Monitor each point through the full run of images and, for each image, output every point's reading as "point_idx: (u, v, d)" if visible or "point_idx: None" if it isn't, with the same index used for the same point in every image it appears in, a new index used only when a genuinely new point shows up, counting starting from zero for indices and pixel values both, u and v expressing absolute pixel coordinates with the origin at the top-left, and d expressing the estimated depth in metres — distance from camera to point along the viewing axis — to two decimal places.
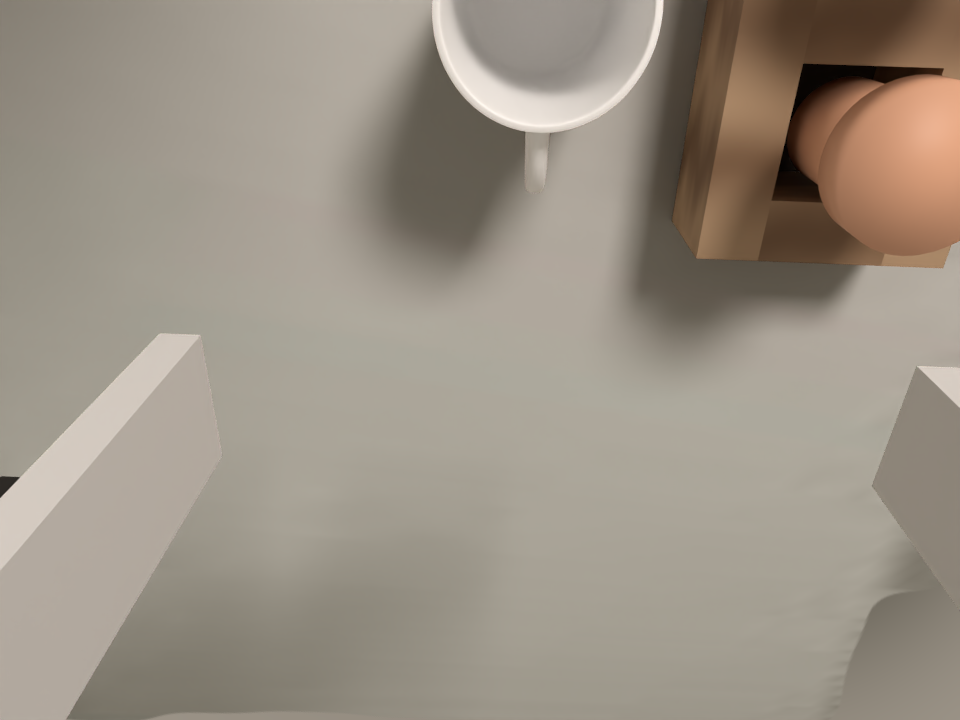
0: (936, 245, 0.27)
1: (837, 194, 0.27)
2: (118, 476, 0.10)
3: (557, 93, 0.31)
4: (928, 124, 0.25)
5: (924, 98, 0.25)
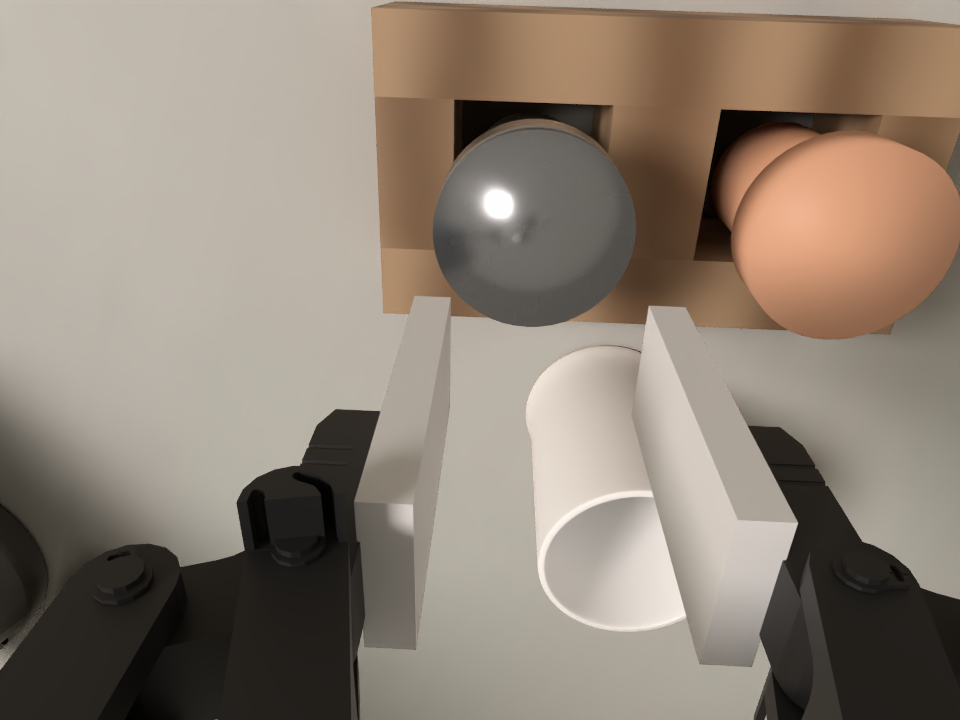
0: (954, 215, 0.22)
1: (853, 335, 0.24)
2: (435, 409, 0.12)
3: None
4: (792, 263, 0.22)
5: (762, 274, 0.23)
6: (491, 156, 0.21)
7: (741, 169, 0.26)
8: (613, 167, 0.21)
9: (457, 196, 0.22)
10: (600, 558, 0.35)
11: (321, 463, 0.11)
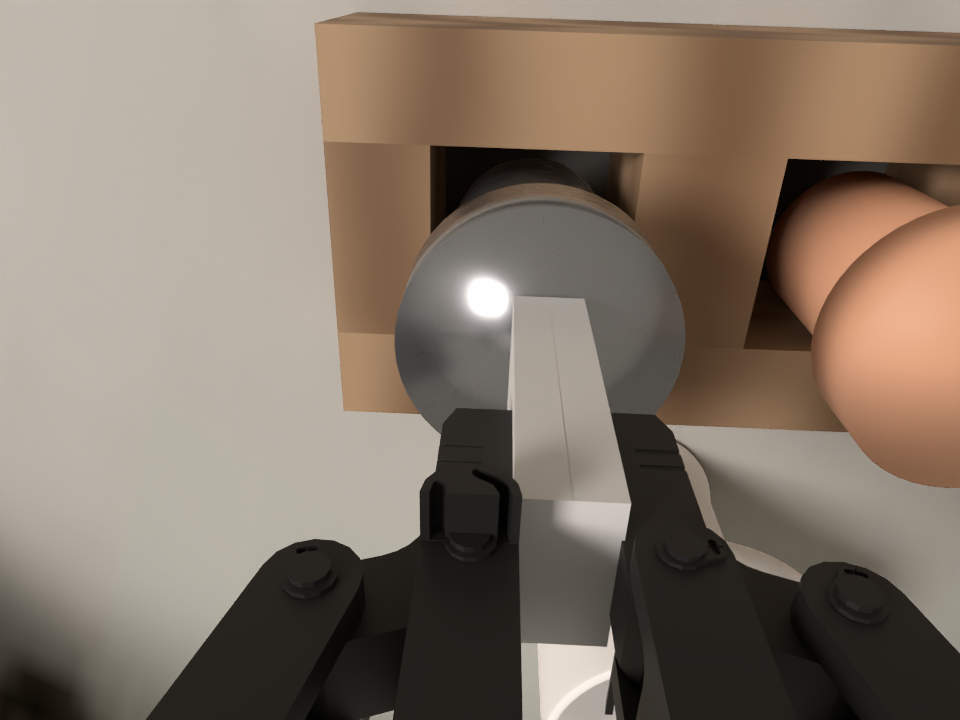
0: None
1: None
2: None
3: None
4: (908, 391, 0.16)
5: (863, 405, 0.16)
6: (477, 244, 0.15)
7: (815, 239, 0.20)
8: (655, 259, 0.15)
9: (429, 298, 0.15)
10: None
11: (456, 461, 0.11)
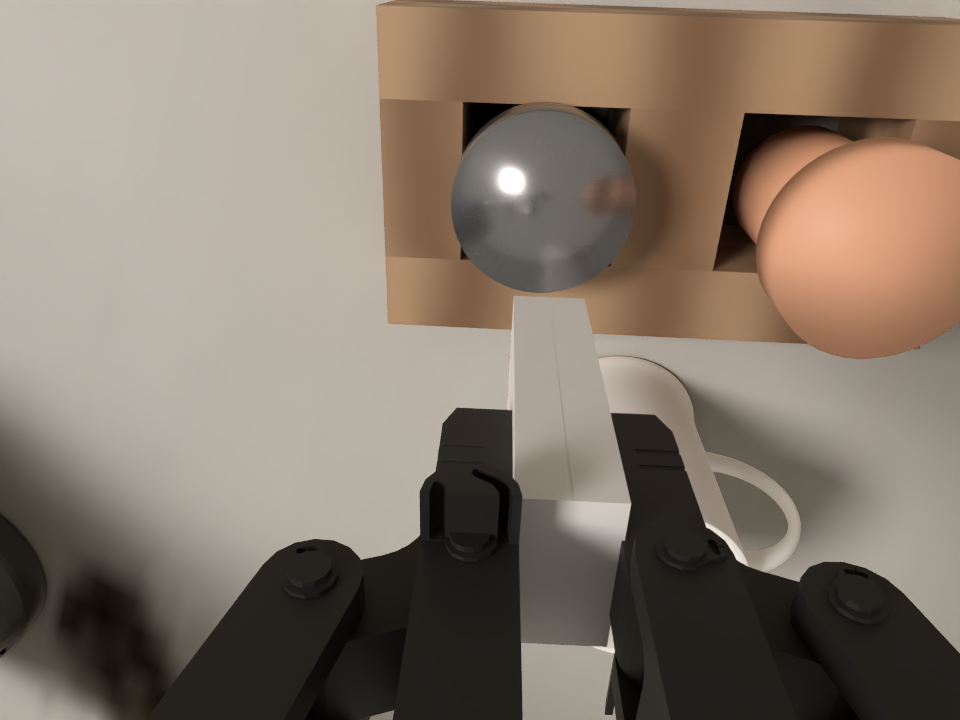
0: None
1: (885, 354, 0.22)
2: None
3: None
4: (822, 278, 0.21)
5: (789, 290, 0.21)
6: (504, 134, 0.23)
7: (766, 176, 0.25)
8: (615, 145, 0.23)
9: (473, 171, 0.24)
10: None
11: (456, 460, 0.11)
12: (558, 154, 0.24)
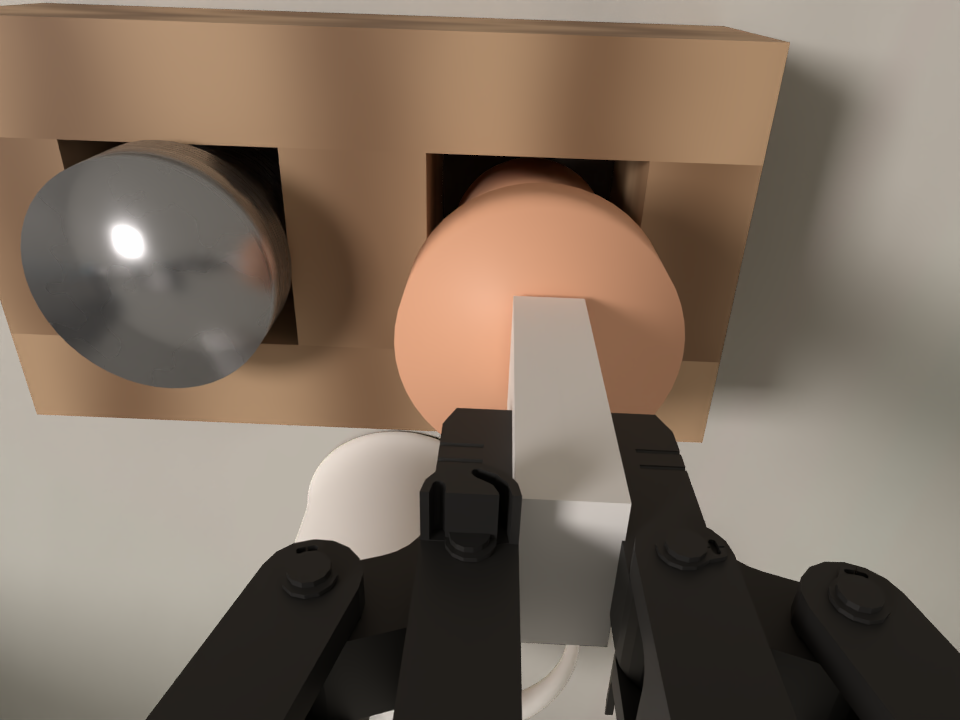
0: (669, 306, 0.15)
1: None
2: None
3: None
4: (459, 369, 0.16)
5: (421, 384, 0.16)
6: (70, 187, 0.17)
7: None
8: (221, 201, 0.17)
9: (43, 235, 0.18)
10: None
11: (456, 460, 0.11)
12: (148, 213, 0.17)
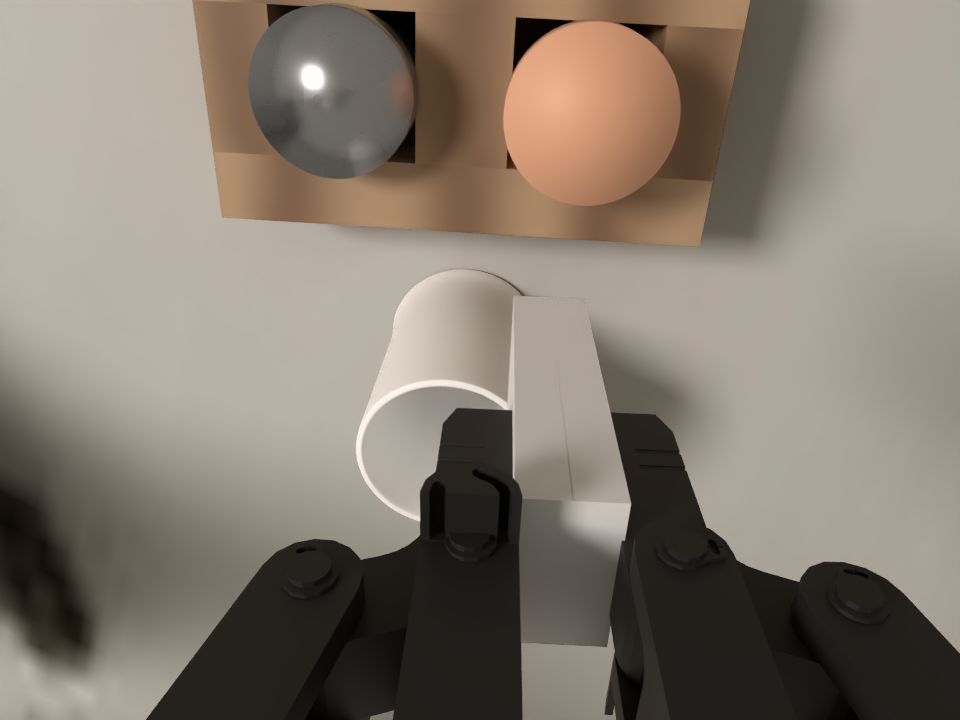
0: (671, 89, 0.25)
1: (604, 202, 0.27)
2: None
3: None
4: (541, 133, 0.26)
5: (517, 143, 0.26)
6: (288, 26, 0.26)
7: None
8: (386, 37, 0.26)
9: (265, 61, 0.27)
10: None
11: (456, 460, 0.11)
12: (337, 45, 0.27)
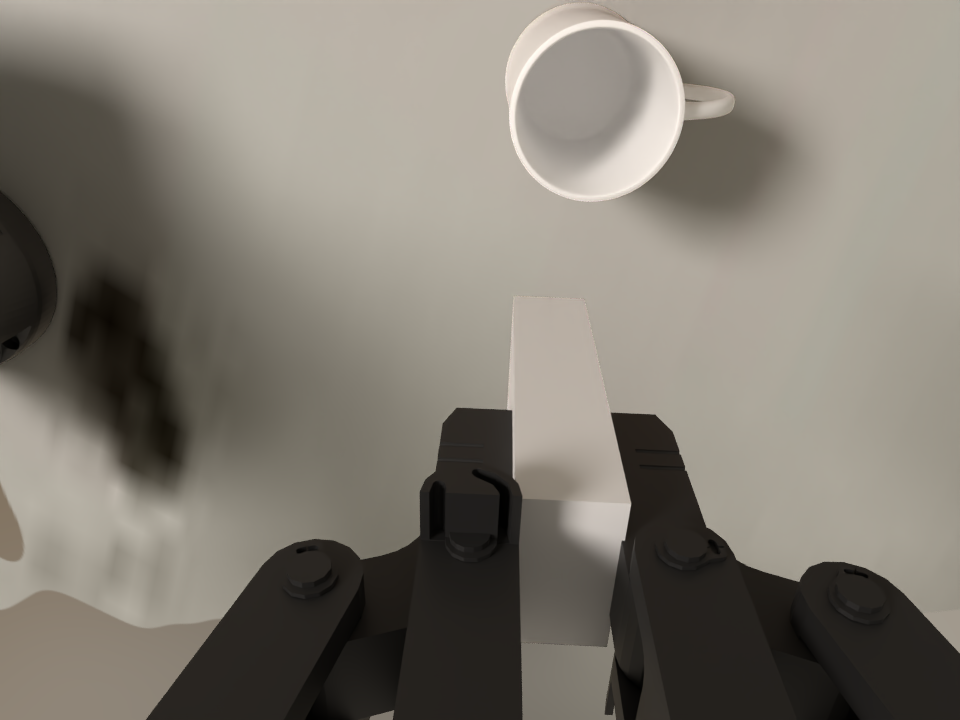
0: None
1: None
2: None
3: (651, 78, 0.37)
4: None
5: None
6: None
7: None
8: None
9: None
10: (571, 171, 0.38)
11: (456, 460, 0.11)
12: None
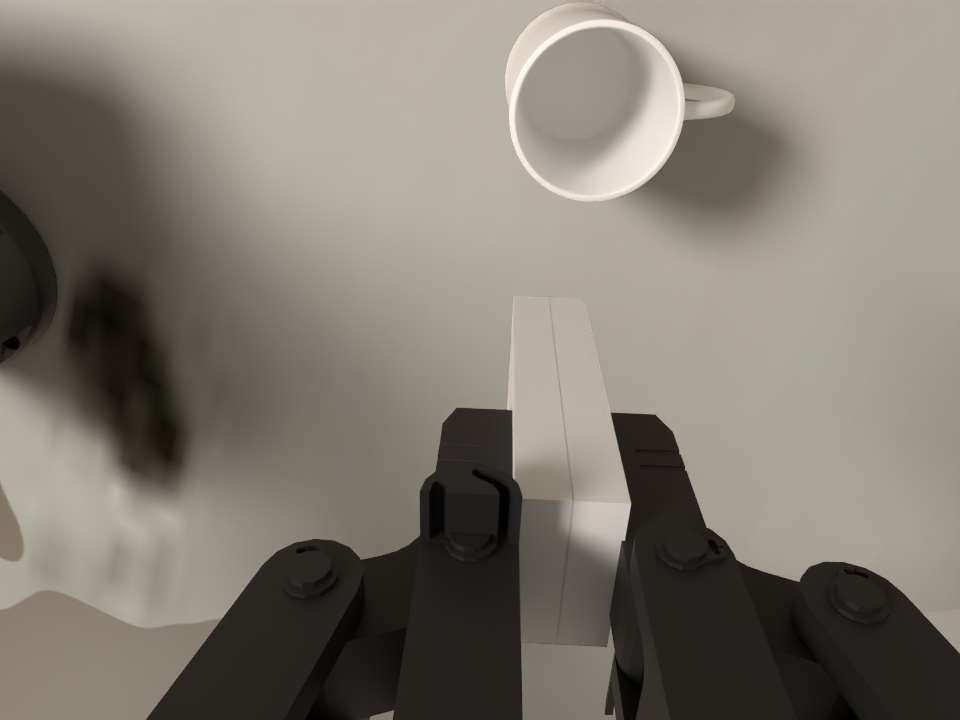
0: None
1: None
2: None
3: (651, 78, 0.37)
4: None
5: None
6: None
7: None
8: None
9: None
10: (570, 170, 0.38)
11: (456, 461, 0.11)
12: None
